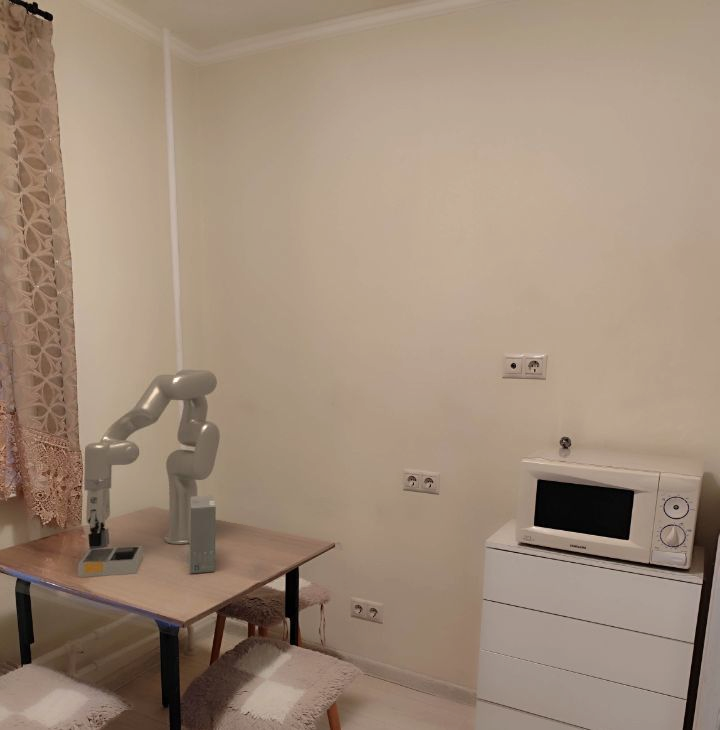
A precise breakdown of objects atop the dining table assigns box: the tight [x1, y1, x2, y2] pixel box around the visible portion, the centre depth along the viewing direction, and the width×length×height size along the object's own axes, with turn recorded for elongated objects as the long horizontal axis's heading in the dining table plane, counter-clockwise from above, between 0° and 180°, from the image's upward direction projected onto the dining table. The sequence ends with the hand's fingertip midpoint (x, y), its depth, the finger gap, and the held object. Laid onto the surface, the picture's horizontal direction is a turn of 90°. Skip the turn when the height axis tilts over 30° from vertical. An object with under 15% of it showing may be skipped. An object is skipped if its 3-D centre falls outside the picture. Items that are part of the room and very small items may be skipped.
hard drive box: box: [188, 494, 217, 574], centre depth 180 cm, size 16×8×20 cm, turn 17°
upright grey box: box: [87, 528, 110, 550], centre depth 176 cm, size 5×4×4 cm
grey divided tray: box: [77, 545, 144, 578], centre depth 177 cm, size 16×13×5 cm
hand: (97, 542), depth 176 cm, fingers closed on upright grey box, 4 cm apart
